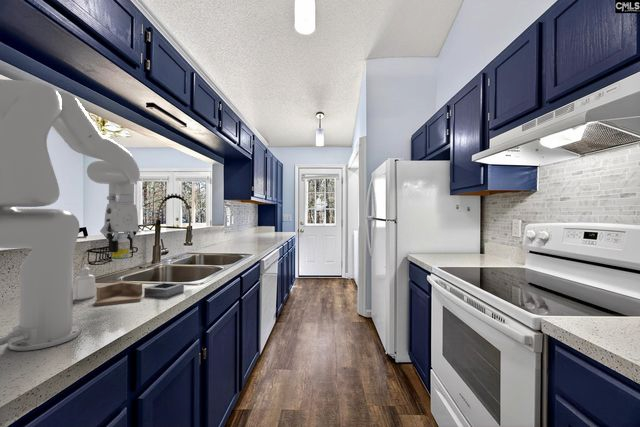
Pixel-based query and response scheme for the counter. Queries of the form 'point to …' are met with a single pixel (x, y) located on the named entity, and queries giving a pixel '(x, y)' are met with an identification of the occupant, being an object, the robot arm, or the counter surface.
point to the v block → (118, 293)
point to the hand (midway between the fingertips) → (120, 250)
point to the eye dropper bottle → (84, 284)
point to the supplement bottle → (122, 248)
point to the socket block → (163, 290)
